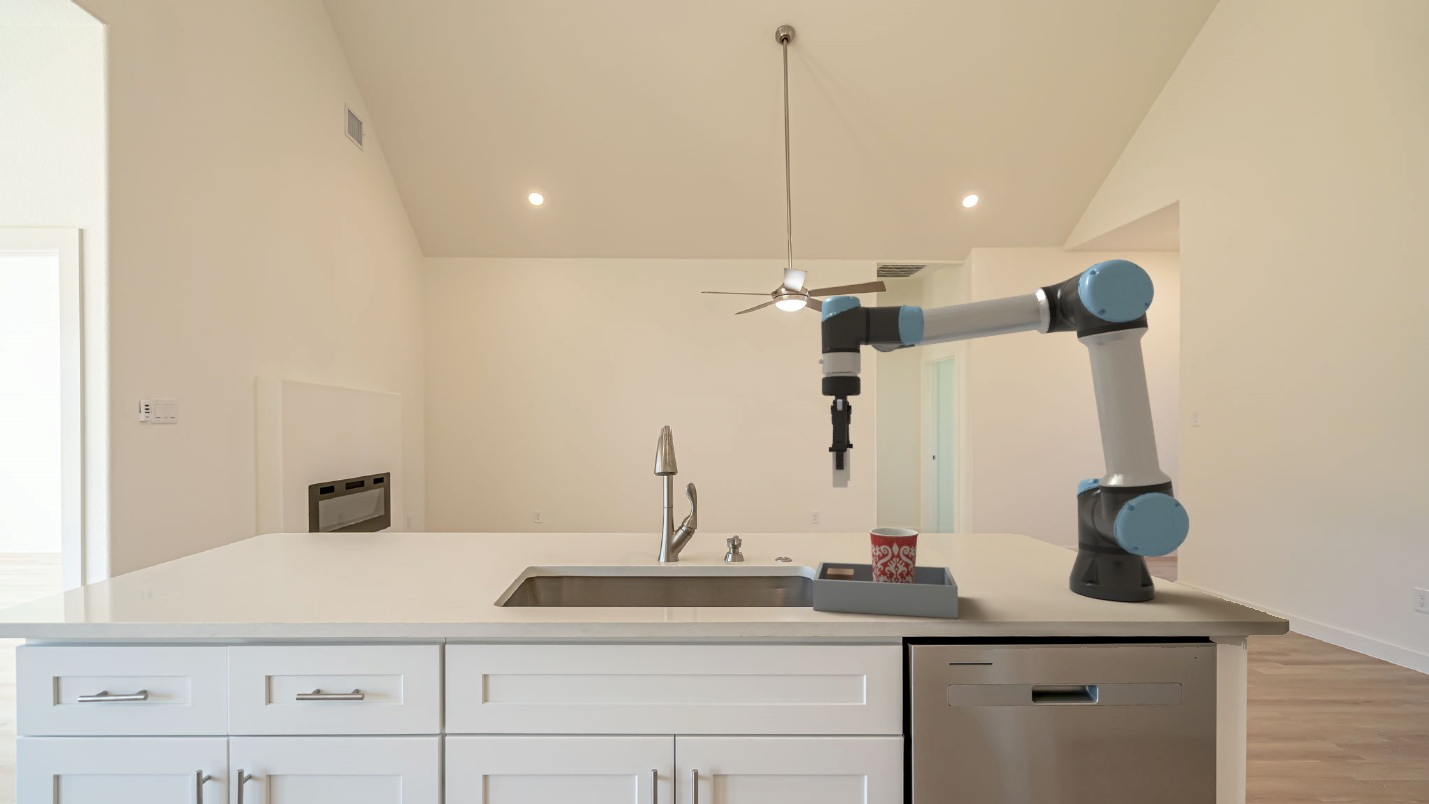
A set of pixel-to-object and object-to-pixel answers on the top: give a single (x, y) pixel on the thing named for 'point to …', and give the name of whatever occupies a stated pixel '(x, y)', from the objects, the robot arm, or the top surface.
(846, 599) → the tote
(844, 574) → the cube
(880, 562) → the mug
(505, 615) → the top surface
